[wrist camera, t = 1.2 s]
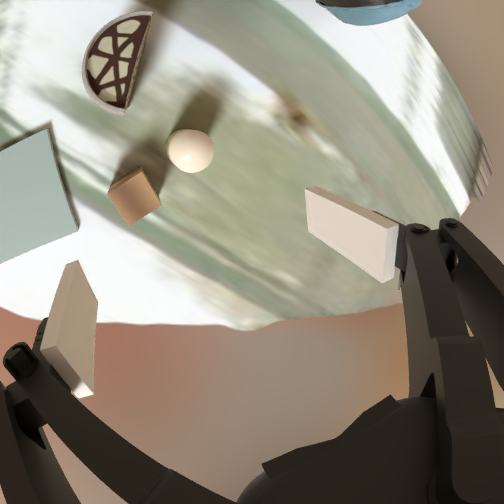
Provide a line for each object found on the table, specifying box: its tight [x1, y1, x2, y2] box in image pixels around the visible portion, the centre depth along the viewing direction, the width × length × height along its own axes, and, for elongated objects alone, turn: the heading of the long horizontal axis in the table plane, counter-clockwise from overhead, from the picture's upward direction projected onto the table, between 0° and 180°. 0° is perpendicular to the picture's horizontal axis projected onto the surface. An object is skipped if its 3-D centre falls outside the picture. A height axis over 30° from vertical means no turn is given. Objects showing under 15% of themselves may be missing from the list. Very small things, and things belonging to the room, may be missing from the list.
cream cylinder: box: [165, 129, 214, 173], centre depth 35 cm, size 5×5×7 cm
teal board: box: [0, 129, 79, 264], centre depth 30 cm, size 15×15×1 cm
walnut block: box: [108, 166, 162, 226], centre depth 36 cm, size 5×5×5 cm
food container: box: [82, 11, 153, 116], centre depth 26 cm, size 12×6×10 cm, turn 166°
